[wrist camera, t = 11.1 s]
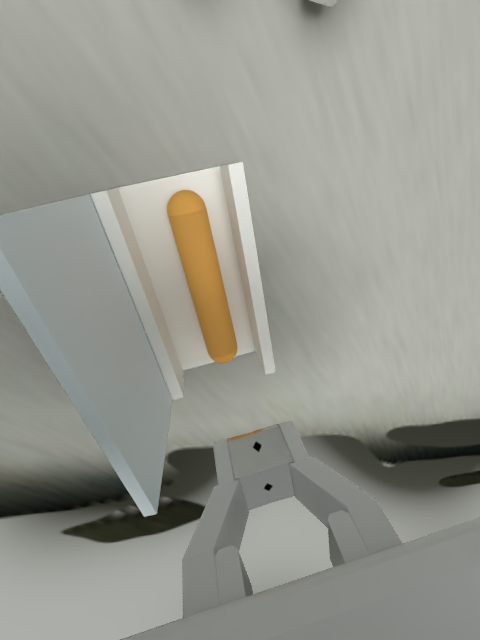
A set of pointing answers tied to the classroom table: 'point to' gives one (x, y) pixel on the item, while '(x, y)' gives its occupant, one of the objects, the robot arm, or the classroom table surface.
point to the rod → (202, 273)
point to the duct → (167, 271)
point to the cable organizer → (326, 2)
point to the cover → (89, 335)
